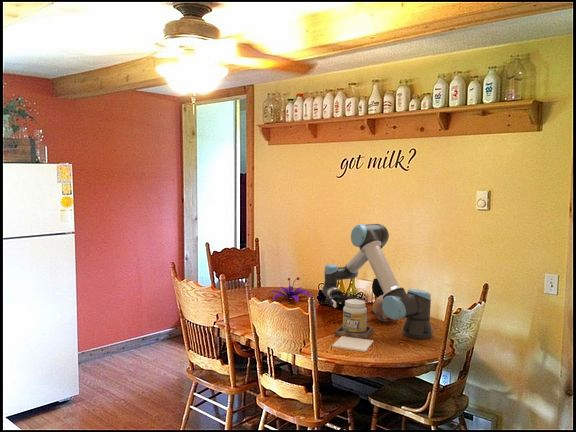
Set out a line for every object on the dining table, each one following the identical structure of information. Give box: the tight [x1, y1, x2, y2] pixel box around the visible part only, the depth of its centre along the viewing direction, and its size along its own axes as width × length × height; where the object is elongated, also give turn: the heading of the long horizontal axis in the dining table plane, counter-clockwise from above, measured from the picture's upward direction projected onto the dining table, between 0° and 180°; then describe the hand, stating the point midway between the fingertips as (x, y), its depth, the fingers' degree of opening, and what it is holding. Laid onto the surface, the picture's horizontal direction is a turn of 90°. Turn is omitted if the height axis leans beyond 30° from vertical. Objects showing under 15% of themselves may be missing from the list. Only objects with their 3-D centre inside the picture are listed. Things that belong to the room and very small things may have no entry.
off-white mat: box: [331, 336, 374, 353], centre depth 249 cm, size 16×16×1 cm
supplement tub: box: [342, 299, 368, 335], centre depth 266 cm, size 12×12×17 cm
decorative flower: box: [267, 276, 313, 303], centre depth 337 cm, size 28×31×15 cm
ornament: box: [372, 295, 395, 323], centre depth 291 cm, size 15×15×15 cm
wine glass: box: [370, 278, 384, 315], centre depth 309 cm, size 10×10×20 cm
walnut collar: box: [334, 323, 374, 340], centre depth 266 cm, size 16×16×2 cm
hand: (347, 304), depth 275 cm, fingers open, 13 cm apart
